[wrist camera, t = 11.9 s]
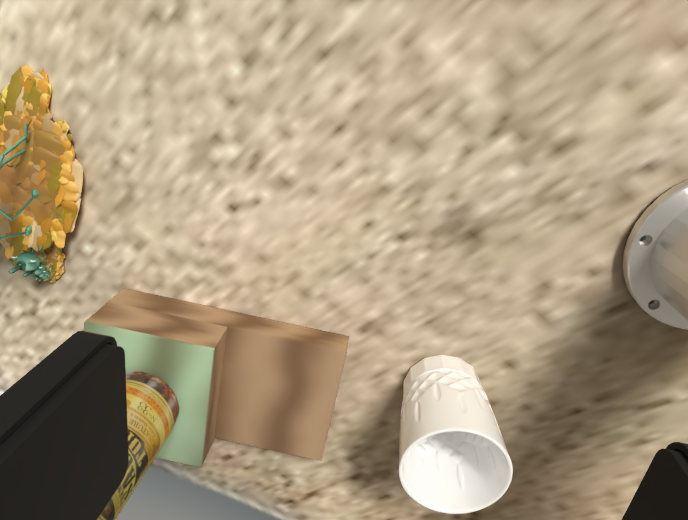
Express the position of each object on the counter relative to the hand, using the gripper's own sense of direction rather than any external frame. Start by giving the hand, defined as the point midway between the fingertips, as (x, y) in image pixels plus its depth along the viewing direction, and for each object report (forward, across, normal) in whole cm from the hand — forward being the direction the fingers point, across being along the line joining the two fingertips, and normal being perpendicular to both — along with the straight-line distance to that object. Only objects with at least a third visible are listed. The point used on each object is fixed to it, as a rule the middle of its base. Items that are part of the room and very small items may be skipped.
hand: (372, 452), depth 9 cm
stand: (+30, +11, +22) cm, 38 cm away
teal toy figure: (+30, +28, +7) cm, 42 cm away
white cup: (+30, -8, +20) cm, 37 cm away
